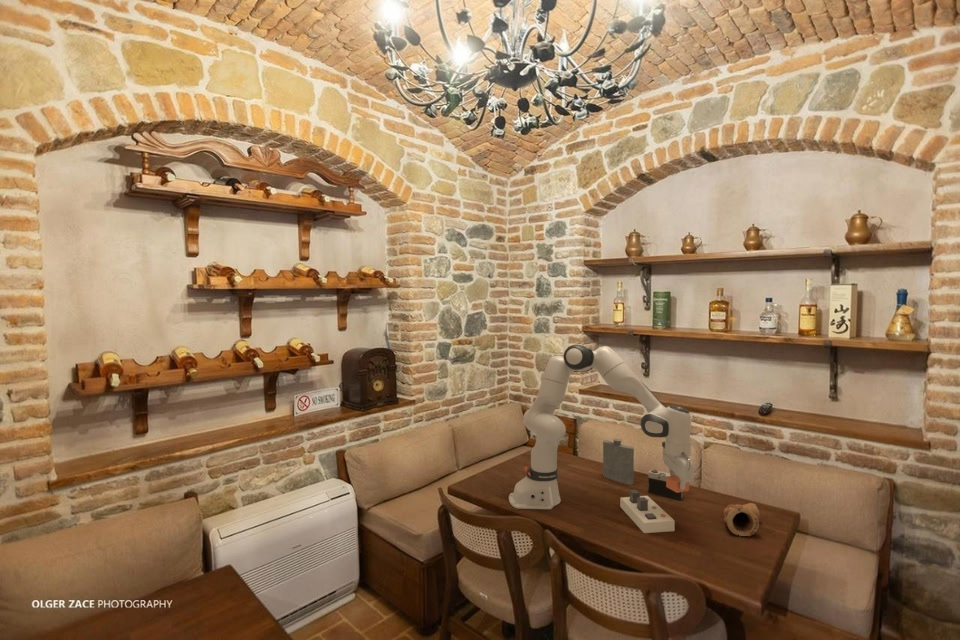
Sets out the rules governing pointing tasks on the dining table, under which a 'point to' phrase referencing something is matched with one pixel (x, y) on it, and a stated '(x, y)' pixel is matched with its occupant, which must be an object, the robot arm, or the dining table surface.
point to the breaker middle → (642, 504)
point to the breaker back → (634, 496)
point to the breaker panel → (647, 526)
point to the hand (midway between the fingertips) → (677, 484)
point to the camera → (661, 485)
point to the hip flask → (618, 461)
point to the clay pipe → (742, 519)
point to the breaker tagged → (650, 516)
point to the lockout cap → (675, 484)
